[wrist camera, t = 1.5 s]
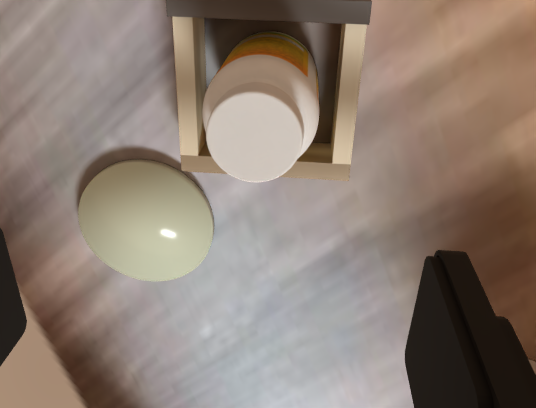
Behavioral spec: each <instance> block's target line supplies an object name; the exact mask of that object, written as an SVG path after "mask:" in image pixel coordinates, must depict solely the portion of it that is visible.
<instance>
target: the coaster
mask: <svg viewBox="0 0 536 408" xmlns="http://www.w3.org/2000/svg"><path fill="white" fill-rule="evenodd" d="M78 218H79V224H80V228H81V231H82V234H83V237H84V239H85V240H86V242H87V244H88V245H89V247H90V248H91V250H92V251H93V252H94V253H95V254H96V255H97V257H98V258H100V259H101V260H102V261H103V262H104V263H105V264H107V265H108V266H109V267H111V268H112V269H114V270H116V271H118V272H120V273H122V274H124V275H126V276H129V277H132V278H135V279H140V280H145V281H167V280H172V279H176V278H179V277H182V276H184V275H186V274H188V273H189V272H191V271H192V270H194V269H195V268H196V267H197V266H198V265H199V264H200V263H201V262H202V261H203V260H204V258H205V256H206V255H207V253H208V251H209V248H210V245H211V242H212V239H213V234H214V217H213V213H212V209H211V207H210V204H209V202H208V200H207V198H206V196H205V195H204V193H203V192H202V191H201V189H200V188H199V187H198V186H197V185H196V184H195V183H194V182H193V181H192V180H191V179H190V178H189V177H188V176H186V175H185V174H183V173H182V172H180V171H179V170H177V169H175V168H173V167H171V166H169V165H166V164H163V163H160V162H156V161H152V160H144V159H133V160H125V161H121V162H117V163H115V164H112V165H110V166H108V167H107V168H105V169H103V170H102V171H101V172H100V173H98V174H97V175H96V176H95V177H94V178H93V179H92V181H91V182H90V183H89V184H88V185H87V187H86V188H85V190H84V192H83V194H82V196H81V199H80V203H79V208H78Z"/></svg>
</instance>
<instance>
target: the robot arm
mask: <svg viewBox="0 0 536 408" xmlns="http://www.w3.org/2000/svg"><path fill="white" fill-rule="evenodd" d="M26 323H27V320H26V315H25V311H24V307H23V304H22V300H21V297H20V293H19V289H18V286H17V282H16V278H15V275H14V271H13V267H12V264H11V260H10V257H9V253H8V249H7V246H6V242H5V238H4V235H3V232H2V230H1V229H0V366H1V365H2V363H3V362H4V360H5V359H6V358H7V356H8V355H9V353H10V352H11V351H12V349H13V347H14V346H15V345H16V344H17V342H18V341H19V339H20V338H21V337H22V335H23V333H24V331H25V329H26ZM405 364H406V370H407V375H408V380H409V384H410V389H411V394H412V399H413V404H414V408H536V374H535V372H534V370H533V368H532V366H531V364H530V362H529V360H528V358H527V356H526V354H525V352H524V350H523V348H522V346H521V344H520V342H519V340H518V338H517V335H516V333H515V331H514V329H513V327H512V325H511V324H510V322H509V321H508V319H506V318H505V317H498V316H496V315H495V313H494V311H493V309H492V307H491V305H490V302H489V300H488V298H487V296H486V294H485V292H484V289H483V287H482V285H481V283H480V281H479V279H478V276H477V274H476V272H475V270H474V268H473V266H472V264H471V261H470V259H469V257H468V255H467V254H466V253H465V252H459V251H444V250H438V251H436V253H435V255H434V257H433V256H427V257H426V259H425V262H424V267H423V271H422V276H421V281H420V285H419V290H418V294H417V299H416V303H415V308H414V312H413V317H412V321H411V326H410V330H409V335H408V340H407V344H406V349H405Z"/></svg>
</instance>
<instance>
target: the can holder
mask: <svg viewBox="0 0 536 408" xmlns="http://www.w3.org/2000/svg"><path fill="white" fill-rule="evenodd" d="M371 5H372V1H371V0H166V9H167V16H171V17H172V19H173V36H174V53H175V69H176V86H177V103H178V120H179V137H180V153H181V170H182V171H188V172H205V173H223V174H228V173H226V172H225V171H224V170H222V169H221V168H220V167H219V166H218V164H217V163H216V162H215V161H214V159H213V158H212V156H211V154H210V152H209V149H208V146H207V141H206V132H205V128H204V124H203V118H202V108H203V101H204V97H205V93H206V91H207V90H206V58H205V25H204V18H219V19H243V20H268V21H292V22H316V23H340V24H342V26H341V37H340V48H339V58H338V69H337V80H336V91H335V101H334V112H333V123H332V133H331V144H328V143H311V144H310V146H309V147H308V149H307V150H306V151H305V152H304V153H303V154H302V155H301V156H300V157H299V158H298V159H297V160H296V162H295V163H294V165H293V166H292V167H291V168H290V169H289V170H288V171H287V172H286V173H284V174H283V175H281V176H279V177H291V178H308V179H325V180H342V181H349V173H350V165H351V156H352V147H353V139H354V130H355V121H356V113H357V104H358V96H359V87H360V78H361V70H362V61H363V53H364V44H365V35H366V27H367V25H369V22H370V14H371Z"/></svg>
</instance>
